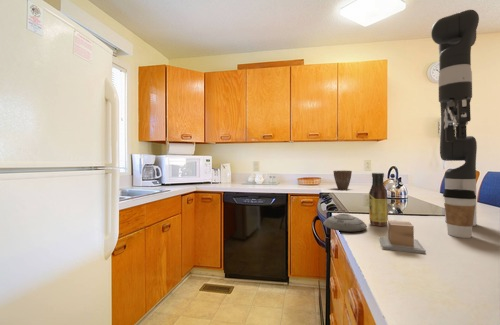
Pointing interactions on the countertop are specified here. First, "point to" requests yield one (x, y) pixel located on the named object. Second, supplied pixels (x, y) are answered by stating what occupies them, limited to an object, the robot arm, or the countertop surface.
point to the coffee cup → (459, 211)
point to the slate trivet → (402, 246)
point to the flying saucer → (344, 223)
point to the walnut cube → (401, 233)
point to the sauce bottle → (378, 201)
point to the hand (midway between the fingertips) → (455, 140)
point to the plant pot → (342, 179)
